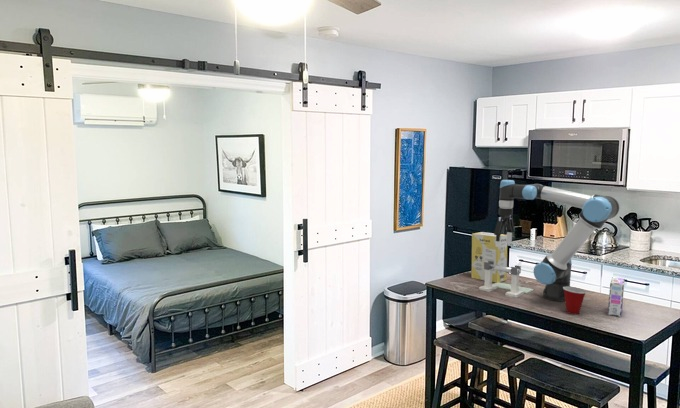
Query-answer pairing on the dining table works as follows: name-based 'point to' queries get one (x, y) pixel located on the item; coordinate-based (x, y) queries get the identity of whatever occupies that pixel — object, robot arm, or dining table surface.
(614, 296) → the candy box
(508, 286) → the mat
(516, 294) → the rack
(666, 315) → the dining table surface
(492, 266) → the rail
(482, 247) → the pasta box
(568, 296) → the plastic cup
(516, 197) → the robot arm
